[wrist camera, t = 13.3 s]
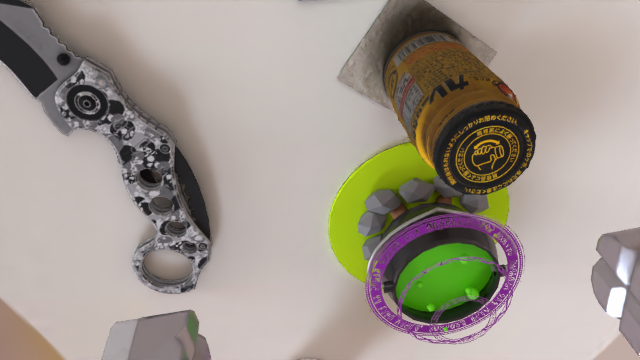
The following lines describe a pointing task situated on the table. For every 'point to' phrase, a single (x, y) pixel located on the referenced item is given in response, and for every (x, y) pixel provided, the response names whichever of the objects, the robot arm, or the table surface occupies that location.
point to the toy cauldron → (423, 243)
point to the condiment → (444, 96)
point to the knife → (111, 136)
